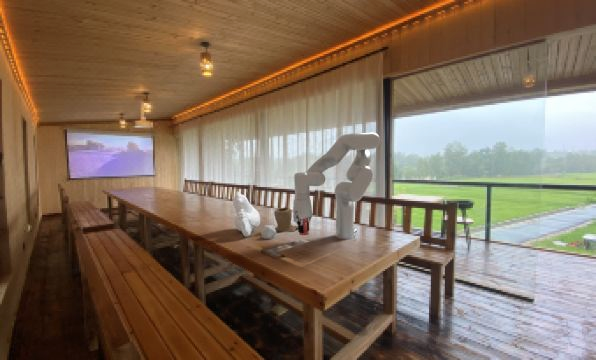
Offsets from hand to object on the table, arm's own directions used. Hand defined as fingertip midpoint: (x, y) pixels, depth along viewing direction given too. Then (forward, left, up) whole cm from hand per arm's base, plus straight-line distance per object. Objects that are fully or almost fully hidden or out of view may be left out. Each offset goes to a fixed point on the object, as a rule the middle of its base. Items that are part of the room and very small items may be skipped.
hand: (303, 231), depth 138 cm
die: (+8, -18, -7) cm, 21 cm away
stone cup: (-9, -22, -7) cm, 25 cm away
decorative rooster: (+10, -38, -7) cm, 40 cm away
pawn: (0, 0, -1) cm, 1 cm away
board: (+10, 0, -7) cm, 12 cm away
